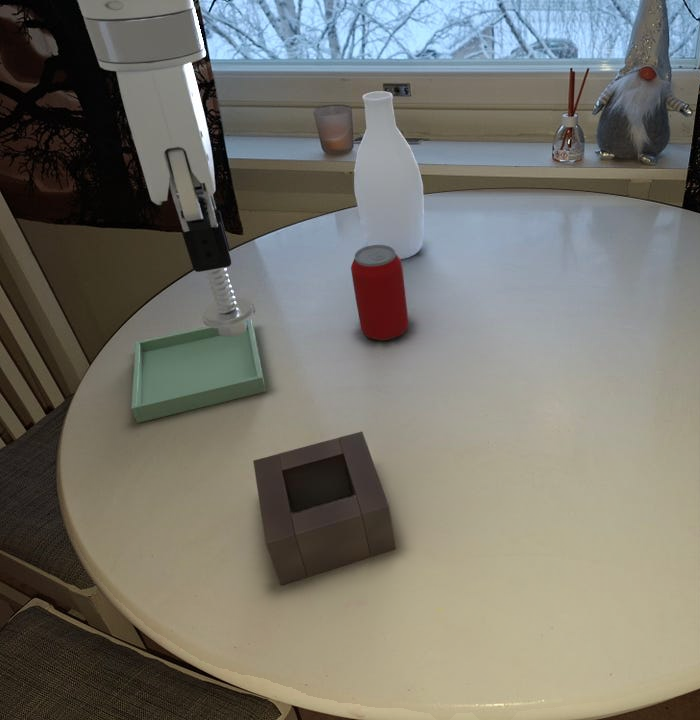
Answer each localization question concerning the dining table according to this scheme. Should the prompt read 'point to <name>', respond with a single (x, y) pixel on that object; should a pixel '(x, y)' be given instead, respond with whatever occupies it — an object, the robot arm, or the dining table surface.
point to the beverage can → (380, 292)
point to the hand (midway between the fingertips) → (212, 259)
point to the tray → (194, 371)
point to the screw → (226, 306)
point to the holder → (322, 507)
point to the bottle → (388, 181)
